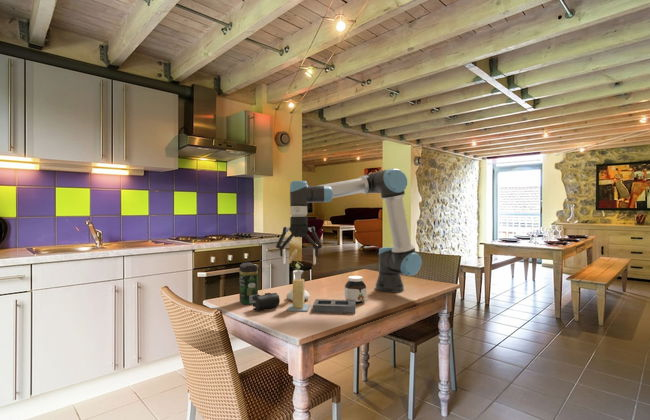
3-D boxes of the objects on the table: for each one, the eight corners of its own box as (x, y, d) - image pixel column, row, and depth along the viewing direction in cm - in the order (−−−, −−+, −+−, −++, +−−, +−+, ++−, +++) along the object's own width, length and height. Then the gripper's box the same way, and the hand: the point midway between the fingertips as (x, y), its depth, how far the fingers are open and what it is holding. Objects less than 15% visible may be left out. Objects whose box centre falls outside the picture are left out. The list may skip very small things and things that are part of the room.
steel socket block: (355, 306, 156) (355, 300, 156) (355, 313, 146) (355, 306, 146) (315, 305, 158) (315, 299, 158) (312, 312, 148) (312, 305, 148)
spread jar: (347, 304, 160) (348, 279, 160) (340, 298, 171) (340, 274, 171) (372, 302, 163) (372, 278, 163) (363, 296, 174) (363, 273, 174)
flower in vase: (290, 295, 175) (290, 246, 175) (312, 297, 173) (312, 246, 173) (282, 302, 162) (282, 249, 162) (305, 304, 160) (305, 250, 160)
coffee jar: (237, 301, 165) (237, 262, 165) (253, 299, 169) (253, 260, 169) (243, 306, 157) (243, 265, 157) (260, 303, 161) (260, 263, 161)
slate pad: (310, 305, 158) (310, 304, 158) (307, 311, 149) (307, 310, 149) (290, 305, 158) (290, 303, 158) (286, 311, 150) (286, 309, 150)
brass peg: (304, 305, 155) (304, 279, 155) (302, 308, 151) (302, 281, 151) (294, 305, 156) (294, 278, 156) (292, 308, 152) (292, 280, 151)
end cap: (259, 313, 146) (259, 297, 146) (251, 310, 151) (251, 294, 151) (279, 309, 153) (279, 293, 152) (271, 305, 158) (271, 290, 158)
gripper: (268, 216, 151) (269, 265, 151) (326, 216, 148) (326, 265, 149) (273, 215, 158) (273, 262, 159) (327, 215, 156) (328, 262, 156)
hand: (299, 264), depth 154 cm, fingers open, 13 cm apart
